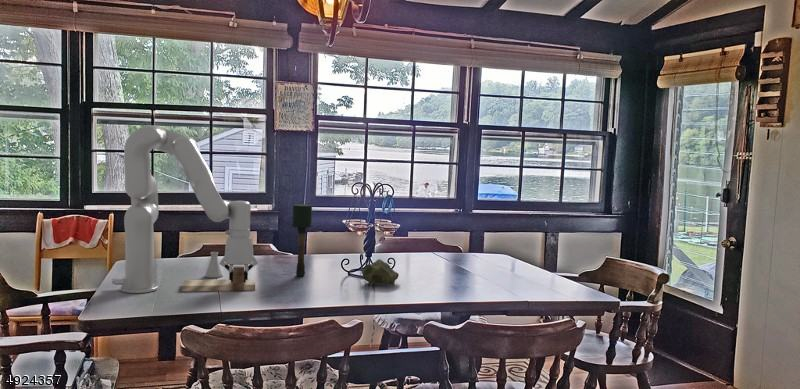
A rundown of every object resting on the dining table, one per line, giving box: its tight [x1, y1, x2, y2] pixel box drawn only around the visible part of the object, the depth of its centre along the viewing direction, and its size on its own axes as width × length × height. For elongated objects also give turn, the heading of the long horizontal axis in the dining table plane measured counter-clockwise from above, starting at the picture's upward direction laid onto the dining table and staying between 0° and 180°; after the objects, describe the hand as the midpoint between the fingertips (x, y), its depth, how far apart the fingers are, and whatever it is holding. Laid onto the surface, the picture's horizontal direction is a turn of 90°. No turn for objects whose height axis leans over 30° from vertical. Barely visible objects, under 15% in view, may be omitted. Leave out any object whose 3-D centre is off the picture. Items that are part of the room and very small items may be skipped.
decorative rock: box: [361, 258, 399, 286], centre depth 244 cm, size 15×16×10 cm
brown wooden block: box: [232, 265, 245, 292], centre depth 230 cm, size 4×14×8 cm, turn 15°
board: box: [181, 278, 256, 292], centre depth 228 cm, size 26×10×2 cm, turn 104°
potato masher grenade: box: [291, 203, 313, 277], centre depth 253 cm, size 8×9×30 cm
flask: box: [204, 251, 223, 279], centre depth 246 cm, size 7×7×10 cm
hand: (238, 281), depth 227 cm, fingers closed on brown wooden block, 4 cm apart
